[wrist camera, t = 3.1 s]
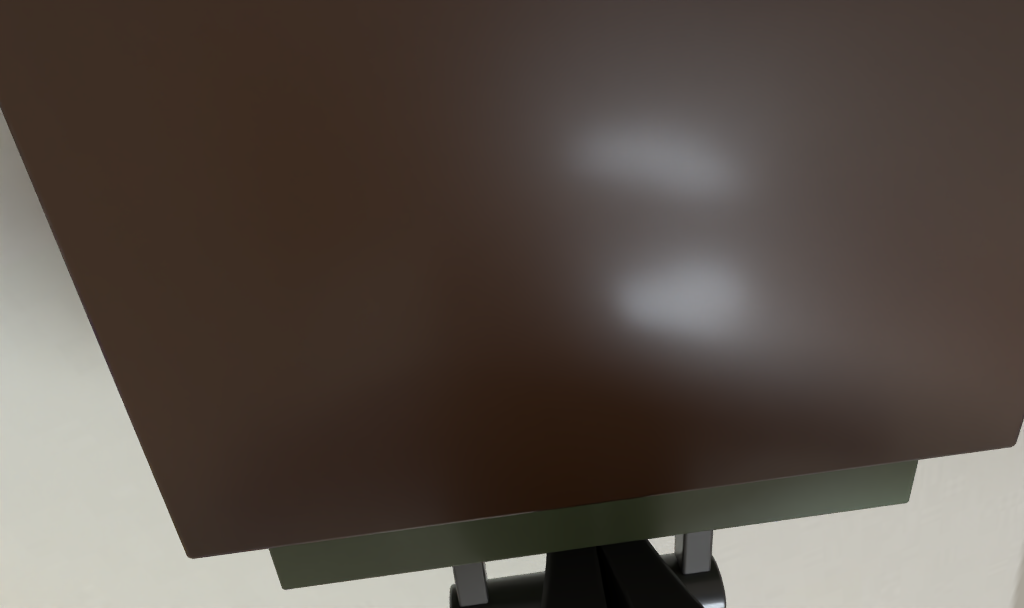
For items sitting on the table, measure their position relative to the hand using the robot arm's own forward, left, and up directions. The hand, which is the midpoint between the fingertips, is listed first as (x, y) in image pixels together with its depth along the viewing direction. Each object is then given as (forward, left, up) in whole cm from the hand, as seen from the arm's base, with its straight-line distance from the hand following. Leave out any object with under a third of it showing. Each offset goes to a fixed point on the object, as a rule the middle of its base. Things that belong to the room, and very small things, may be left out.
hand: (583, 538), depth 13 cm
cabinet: (0, -10, -5) cm, 11 cm away
